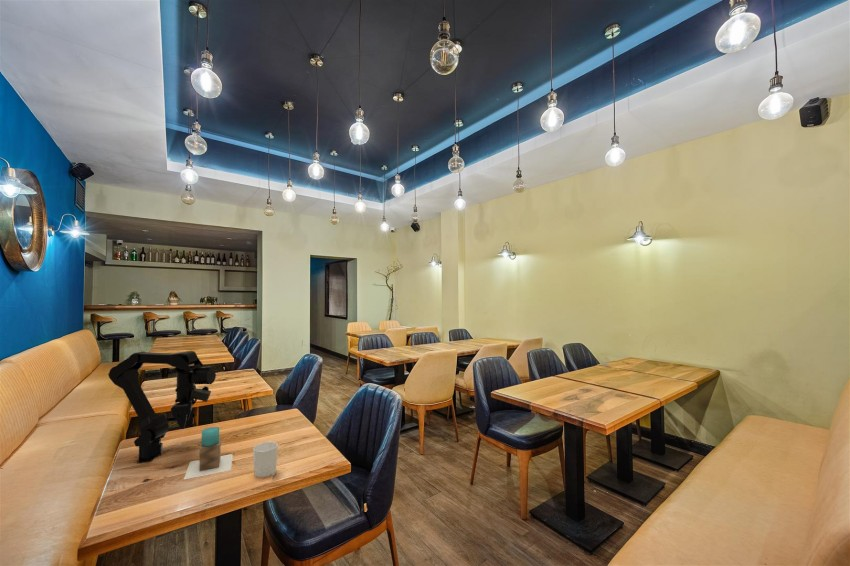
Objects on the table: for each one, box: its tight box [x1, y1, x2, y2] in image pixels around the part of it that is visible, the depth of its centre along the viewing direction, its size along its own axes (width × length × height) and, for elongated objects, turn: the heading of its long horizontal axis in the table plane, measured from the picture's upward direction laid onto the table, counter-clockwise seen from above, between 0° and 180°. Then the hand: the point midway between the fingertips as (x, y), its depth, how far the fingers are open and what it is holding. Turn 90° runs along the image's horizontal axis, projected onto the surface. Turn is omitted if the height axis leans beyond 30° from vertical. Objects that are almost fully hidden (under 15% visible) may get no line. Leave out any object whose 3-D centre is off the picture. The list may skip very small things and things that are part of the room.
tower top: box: [199, 438, 222, 460], centre depth 127 cm, size 6×6×4 cm
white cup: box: [252, 441, 279, 478], centre depth 122 cm, size 8×8×10 cm
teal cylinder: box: [201, 426, 220, 447], centre depth 127 cm, size 6×6×5 cm
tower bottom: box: [199, 450, 221, 471], centre depth 127 cm, size 6×6×4 cm
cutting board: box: [183, 453, 234, 481], centre depth 127 cm, size 14×14×1 cm
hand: (184, 424), depth 135 cm, fingers open, 9 cm apart
